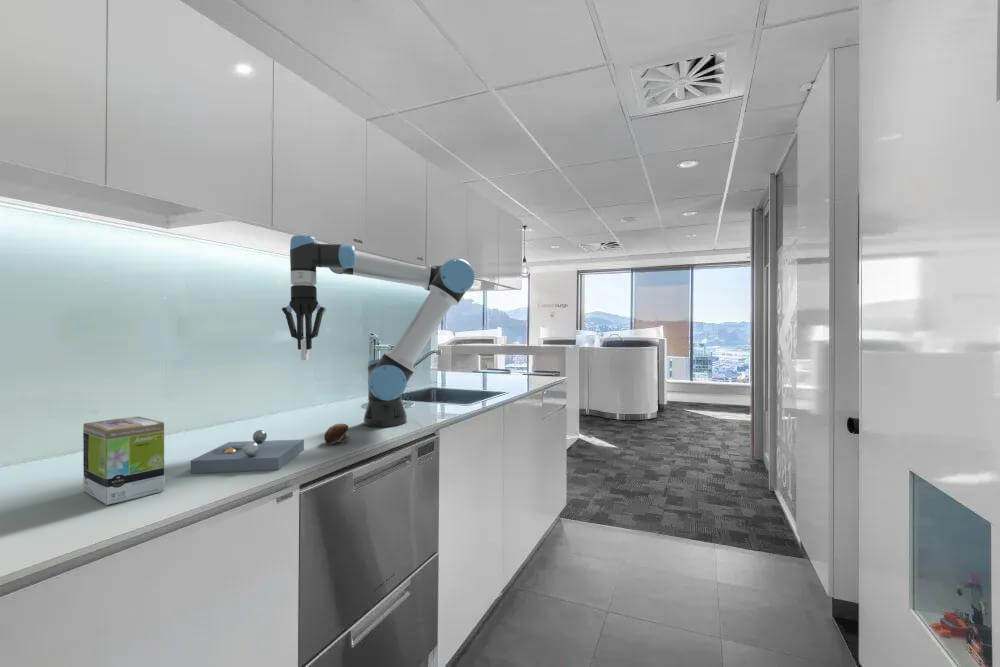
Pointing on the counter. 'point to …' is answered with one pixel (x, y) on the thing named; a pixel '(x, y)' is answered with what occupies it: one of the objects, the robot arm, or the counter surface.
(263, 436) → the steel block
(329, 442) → the mushroom
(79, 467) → the counter surface
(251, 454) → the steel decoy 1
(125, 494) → the tea box
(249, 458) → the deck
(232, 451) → the copper ball
